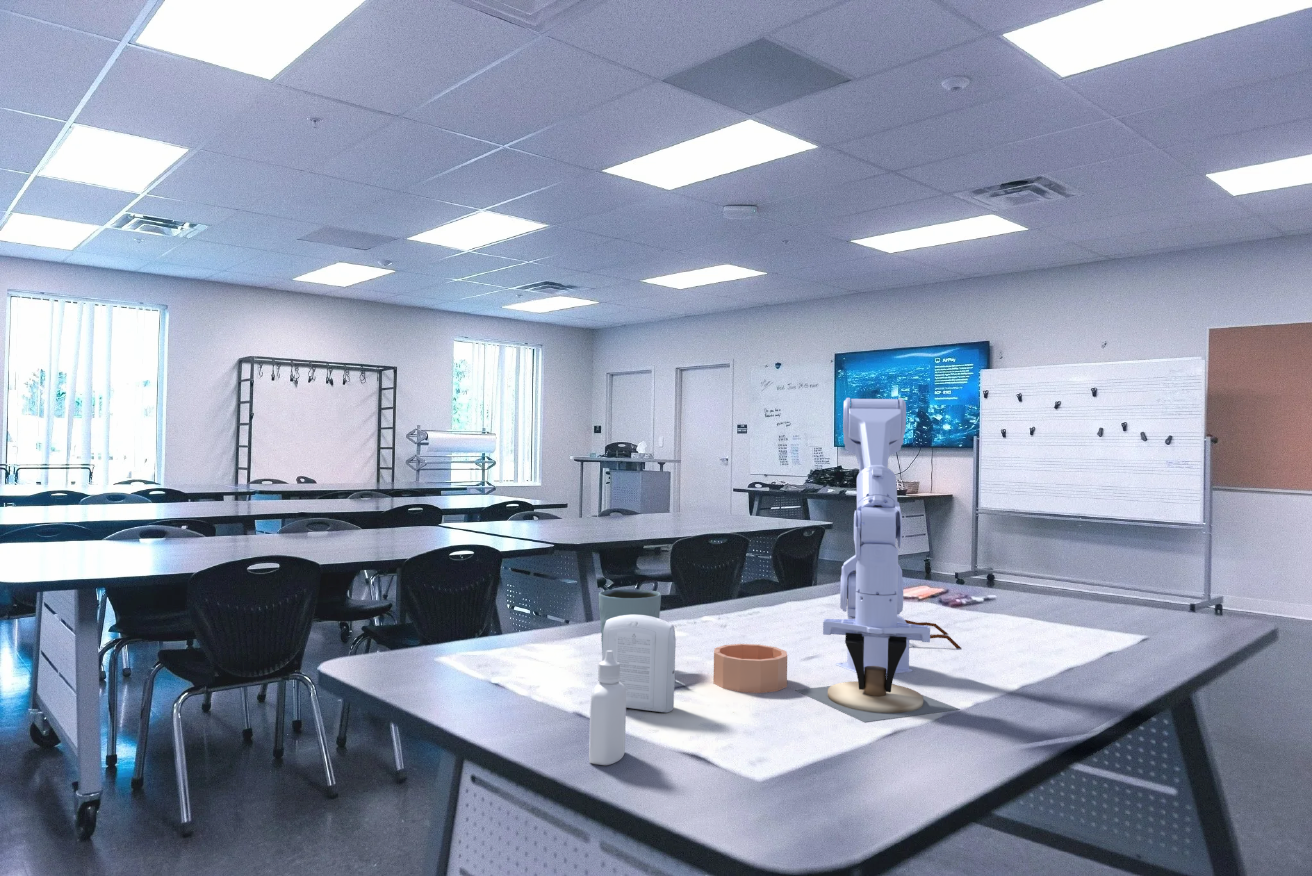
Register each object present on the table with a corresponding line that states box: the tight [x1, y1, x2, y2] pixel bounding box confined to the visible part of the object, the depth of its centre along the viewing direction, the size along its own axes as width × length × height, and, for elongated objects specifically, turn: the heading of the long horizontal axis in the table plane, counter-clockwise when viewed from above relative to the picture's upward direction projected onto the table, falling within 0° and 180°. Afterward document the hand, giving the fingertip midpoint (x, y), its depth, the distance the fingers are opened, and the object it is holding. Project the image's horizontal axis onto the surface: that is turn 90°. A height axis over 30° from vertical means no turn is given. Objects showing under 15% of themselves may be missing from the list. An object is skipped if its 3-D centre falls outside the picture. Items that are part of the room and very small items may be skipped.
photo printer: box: [601, 615, 677, 714], centre depth 118 cm, size 10×4×12 cm, turn 72°
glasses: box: [904, 619, 962, 649], centre depth 166 cm, size 13×13×5 cm
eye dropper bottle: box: [588, 650, 627, 766], centre depth 98 cm, size 4×6×12 cm
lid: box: [828, 666, 923, 713], centre depth 122 cm, size 13×13×4 cm
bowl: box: [712, 643, 788, 694], centre depth 130 cm, size 11×11×5 cm
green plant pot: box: [598, 588, 662, 657], centre depth 139 cm, size 10×10×12 cm
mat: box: [794, 683, 961, 723], centre depth 122 cm, size 16×16×1 cm
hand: (874, 689), depth 122 cm, fingers closed on lid, 3 cm apart
